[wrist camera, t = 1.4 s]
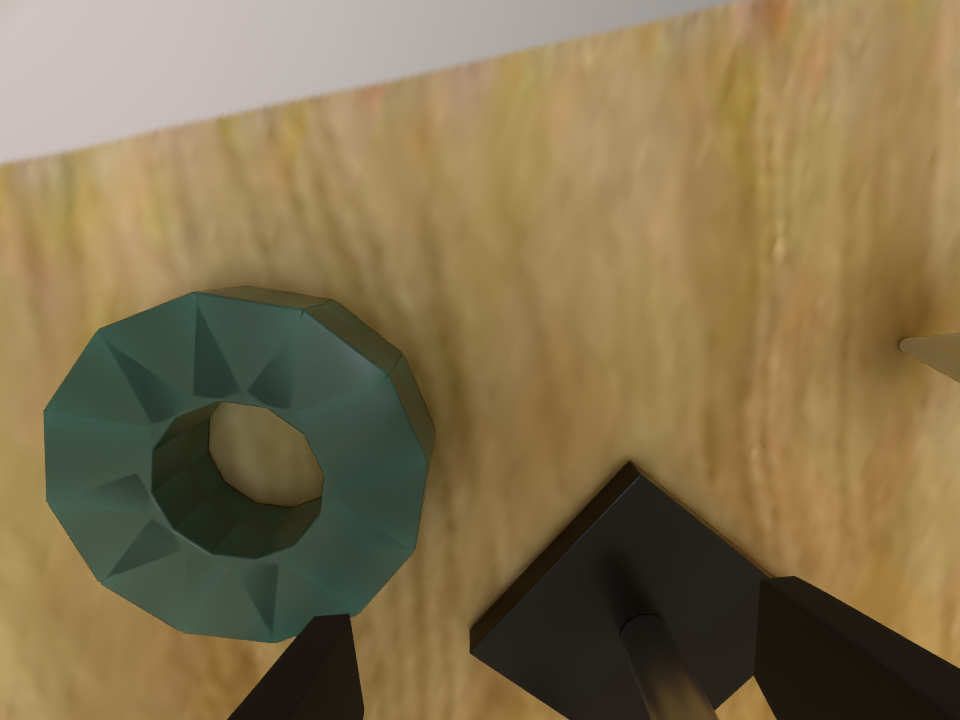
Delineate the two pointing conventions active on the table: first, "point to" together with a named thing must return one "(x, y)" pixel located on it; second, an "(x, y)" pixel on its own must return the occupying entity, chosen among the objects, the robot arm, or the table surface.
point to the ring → (200, 488)
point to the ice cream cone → (936, 352)
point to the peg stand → (629, 612)
